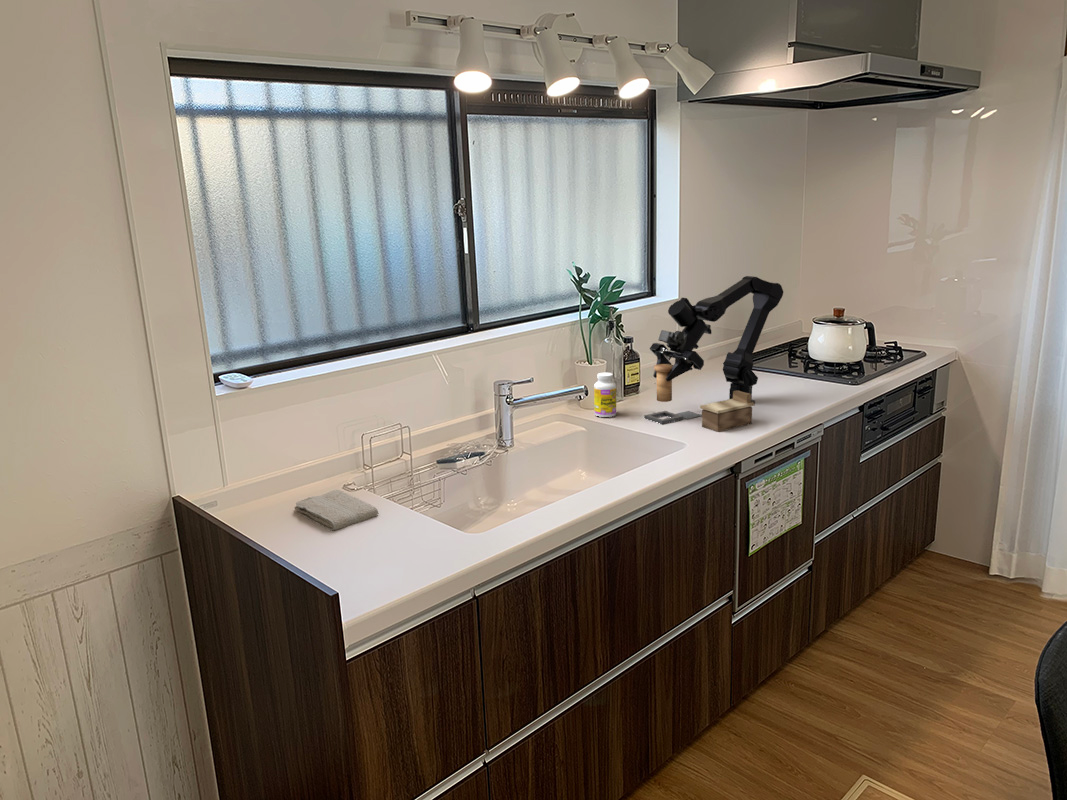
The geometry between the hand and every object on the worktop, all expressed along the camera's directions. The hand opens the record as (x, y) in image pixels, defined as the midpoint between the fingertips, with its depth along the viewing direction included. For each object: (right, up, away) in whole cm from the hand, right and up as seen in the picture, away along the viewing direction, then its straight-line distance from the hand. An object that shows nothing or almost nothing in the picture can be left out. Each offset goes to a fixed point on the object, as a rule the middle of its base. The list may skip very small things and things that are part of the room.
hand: (660, 378), depth 242 cm
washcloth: (-81, -32, -58) cm, 104 cm away
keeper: (+1, -12, +4) cm, 12 cm away
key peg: (+1, -6, +2) cm, 7 cm away
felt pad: (+9, -11, +6) cm, 15 cm away
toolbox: (+18, -13, -5) cm, 23 cm away
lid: (+18, -8, -6) cm, 21 cm away
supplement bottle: (-15, -11, +10) cm, 21 cm away
